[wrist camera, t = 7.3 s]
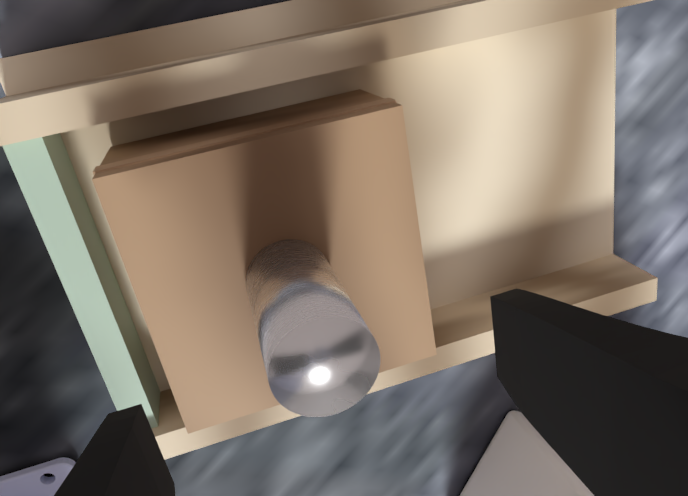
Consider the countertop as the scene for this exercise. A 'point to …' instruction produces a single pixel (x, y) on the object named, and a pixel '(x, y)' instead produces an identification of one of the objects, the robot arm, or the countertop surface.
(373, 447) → the countertop surface
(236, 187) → the block with knob
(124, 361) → the bay
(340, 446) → the countertop surface
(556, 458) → the medicine bottle
